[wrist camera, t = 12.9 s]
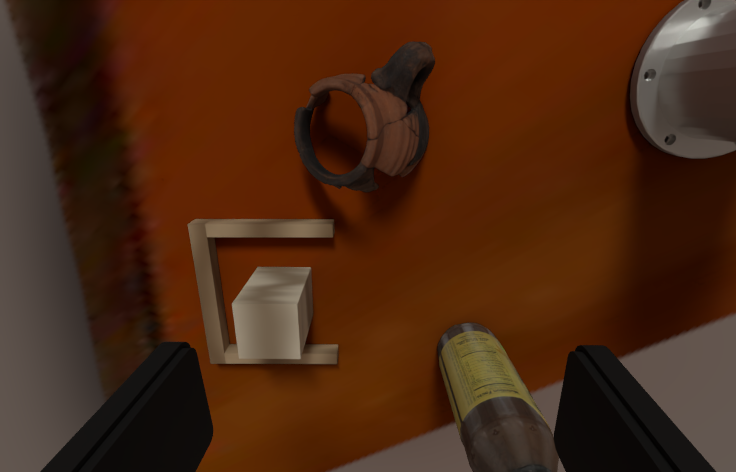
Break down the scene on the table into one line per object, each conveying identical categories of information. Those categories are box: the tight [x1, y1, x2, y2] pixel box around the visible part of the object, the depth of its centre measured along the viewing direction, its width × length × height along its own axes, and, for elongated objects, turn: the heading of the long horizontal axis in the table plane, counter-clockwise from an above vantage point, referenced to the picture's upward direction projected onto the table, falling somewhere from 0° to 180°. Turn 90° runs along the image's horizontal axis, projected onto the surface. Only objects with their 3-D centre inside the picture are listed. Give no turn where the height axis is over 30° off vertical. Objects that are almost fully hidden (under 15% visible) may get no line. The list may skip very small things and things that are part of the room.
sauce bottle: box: [437, 323, 559, 472], centre depth 29 cm, size 6×6×20 cm
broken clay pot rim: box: [294, 42, 435, 192], centre depth 29 cm, size 12×9×8 cm
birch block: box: [232, 267, 313, 359], centre depth 33 cm, size 5×5×7 cm
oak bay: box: [188, 219, 338, 364], centre depth 36 cm, size 12×14×2 cm
